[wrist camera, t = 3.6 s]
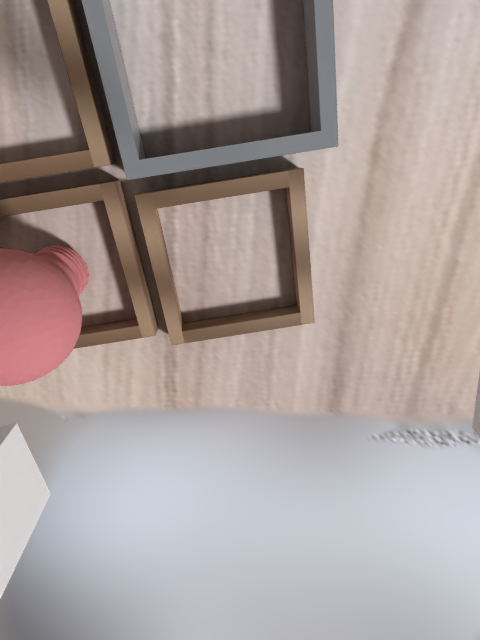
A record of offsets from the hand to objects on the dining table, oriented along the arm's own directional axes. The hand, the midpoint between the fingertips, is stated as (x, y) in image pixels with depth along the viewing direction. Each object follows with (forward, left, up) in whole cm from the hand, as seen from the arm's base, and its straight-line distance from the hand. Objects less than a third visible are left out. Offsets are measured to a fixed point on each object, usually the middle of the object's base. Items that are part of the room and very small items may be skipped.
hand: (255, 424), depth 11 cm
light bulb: (-1, -12, -19) cm, 22 cm away
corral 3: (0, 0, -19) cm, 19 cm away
